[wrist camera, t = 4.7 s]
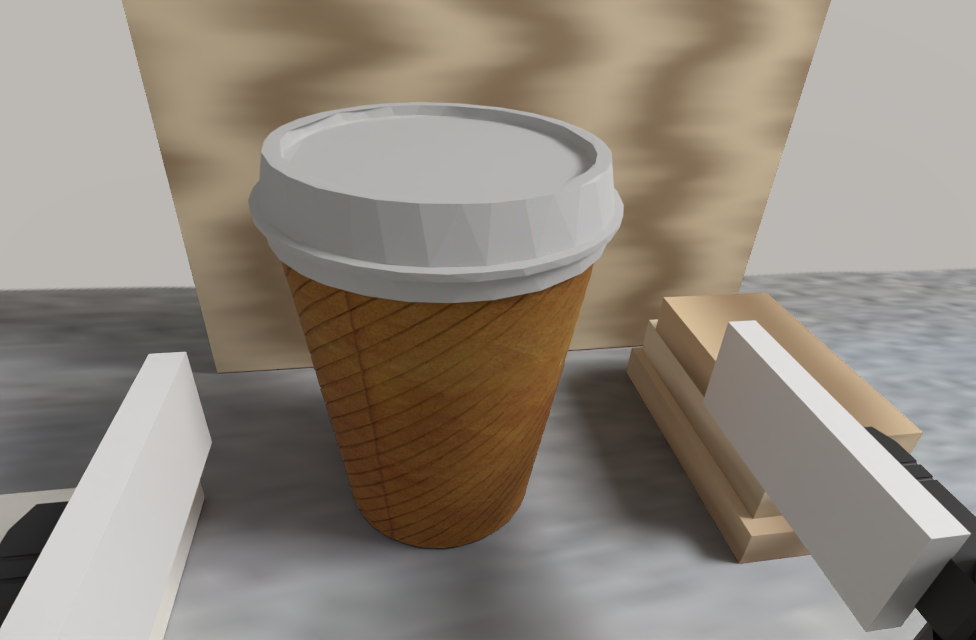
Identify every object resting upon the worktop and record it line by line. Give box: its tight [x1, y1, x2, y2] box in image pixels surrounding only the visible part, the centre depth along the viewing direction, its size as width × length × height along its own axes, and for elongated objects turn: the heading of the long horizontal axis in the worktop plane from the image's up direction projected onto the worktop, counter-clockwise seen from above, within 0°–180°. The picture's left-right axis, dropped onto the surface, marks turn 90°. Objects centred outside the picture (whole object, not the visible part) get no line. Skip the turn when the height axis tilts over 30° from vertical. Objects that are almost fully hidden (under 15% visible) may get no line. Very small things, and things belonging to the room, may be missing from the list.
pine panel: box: [122, 0, 831, 373], centre depth 23 cm, size 25×2×17 cm, turn 100°
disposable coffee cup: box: [248, 102, 624, 548], centre depth 18 cm, size 10×10×12 cm
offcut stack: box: [627, 293, 923, 564], centre depth 22 cm, size 6×10×5 cm, turn 9°
